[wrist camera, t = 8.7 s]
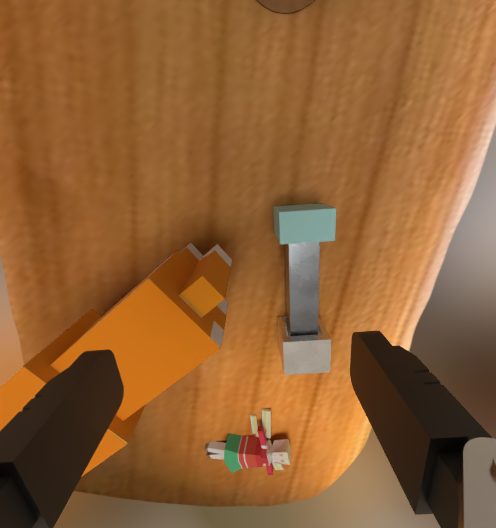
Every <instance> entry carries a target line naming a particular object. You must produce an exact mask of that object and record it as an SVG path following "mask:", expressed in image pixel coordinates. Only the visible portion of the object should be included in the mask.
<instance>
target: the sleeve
mask: <svg viewBox="0 0 496 528" xmlns="http://www.w3.org/2000/svg"><path fill="white" fill-rule="evenodd" d="M277 319H278V345H279V351H280V356H281V361H282V366H283V372H284V375H291V374H308V373H326V372H330V359H331V338H330V336H329V334H328V332H327V330H326V329H325V327H324V325H323V323H322V321H321V319H320V317H319V315H318V335H303V336H288V333H287V317H286V316H278V317H277Z"/></svg>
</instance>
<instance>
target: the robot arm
mask: <svg viewBox="0 0 496 528" xmlns="http://www.w3.org/2000/svg"><path fill="white" fill-rule="evenodd" d="M258 1H259V2H260V3H261V4H262V5H263V6H265V7H266V8H268V9H270V10H272V11H275V12H279V13H292V12H295V11H299V10H301V9H303V8H304V7H306V6H308V5H309V4H310V3H311V2H313V1H314V0H258ZM350 376H351V382H352V385H353V388H354V391H355V393H356V395H357V397H358V399H359V401H360V403H361V405H362V407H363V409H364V411H365V413H366V416H367V418H368V420H369V422H370V424H371V426H372V428H373V430H374V432H375V434H376V436H377V438H378V440H379V442H380V444H381V446H382V448H383V450H384V452H385V454H386V456H387V458H388V460H389V462H390V464H391V466H392V468H393V470H394V472H395V474H396V476H397V478H398V480H399V482H400V485H401V487H402V489H403V490H404V493H405V495H406V497H407V499H408V501H409V503H410V505H411V507H412V509H413V511H414V513H415V514H434V516H435V518H436V520H437V521H438V523H439V525H440V527H441V528H496V439H493V438H492V437H491V436H490V435H489V434H488V433H487V432H486V431H485V430H484V429H483V428H482V426H481V425H480V424H479V423H478V422H477V421H476V420H475V419H474V418H473V417H472V416H471V415H470V414H469V413H468V411H467V410H466V409H465V408H464V407H463V406H462V405H461V404H460V403H459V402H458V401H457V400H456V398H455V397H453V395H452V394H451V393H450V392H449V391H448V390H447V389H446V388H445V387H444V386H443V385H441V384H440V381H439V380H438V379H437V378H436V377H435V376H434V375H433V374H432V373H430V372H429V369H428V368H427V367H426V366H425V365H424V364H423V363H422V362H421V361H420V360H419V359H418V358H417V357H416V356H415V355H413V354H412V353H410V352H409V351H407V350H405V349H404V348H402V347H401V346H392V345H391V344H390V343H389V341H388V340H387V339H386V338H385V337H384V335H383V334H382V333H381V332H380V331H367V332H354V333H353V335H352V344H351V363H350ZM123 396H124V386H123V382H122V379H121V376H120V372H119V369H118V366H117V363H116V359H115V356H114V353H113V352H112V351H111V350H109V349H107V350H94V351H85V352H83V353H82V354H81V355H80V356H79V357H78V358H77V359H76V360H75V361H74V362H73V363H72V364H71V365H70V367H69V368H67V369H65V370H64V371H62V372H61V373H59V374H58V375H57V376H55V377H54V378H52V379H51V380H49V381H48V382H47V383H46V384H45V385H44V386H43V387H42V389H41V390H40V391H39V392H38V393H37V394H36V395H35V398H32V399H31V400H30V401H29V402H28V403H27V404H26V405H25V406H24V407H23V410H22V411H20V412H18V413H17V414H16V415H15V416H14V417H13V418H12V419H11V421H10V422H9V423H8V424H7V425H6V426H5V427H4V428H3V429H2V430H1V431H0V528H53V527H54V525H55V523H56V521H57V520H58V518H59V516H60V514H61V513H62V511H63V509H64V507H65V505H66V504H67V502H68V500H69V498H70V496H71V494H72V492H73V491H74V489H75V487H76V485H77V484H78V482H79V480H80V478H81V476H82V475H83V473H84V471H85V469H86V467H87V466H88V464H89V462H90V460H91V458H92V457H93V455H94V453H95V451H96V449H97V448H98V446H99V444H100V442H101V440H102V438H103V437H104V435H105V433H106V431H107V429H108V428H109V426H110V424H111V422H112V420H113V419H114V417H115V415H116V413H117V411H118V410H119V408H120V406H121V403H122V400H123Z"/></svg>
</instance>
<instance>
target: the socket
mask: <svg viewBox="0 0 496 528" xmlns="http://www.w3.org/2000/svg"><path fill="white" fill-rule="evenodd" d="M273 211H274V233H275V235H276V237H277V239H278V241H279V243H280V244H294V243H309V242H324V241H335V224H336V208H334V207H330V206H327V205H324V204H321V203H314V204H300V205H286V206H273Z"/></svg>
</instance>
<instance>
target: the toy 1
mask: <svg viewBox="0 0 496 528" xmlns="http://www.w3.org/2000/svg"><path fill="white" fill-rule="evenodd" d="M231 264H232V259H231V258H230V257H229V256H228V255H227V254H226V253H225V252H224V251H223V250H222V249H221V247H220V246H219V245H218V244H217V245H216V246H214V247H213V248H212V249H211V250H210V251H209V252H207V253H206V254H205V255H204V256H203V255H202V254H201V253H200V252H199V251H198V250H197V248H196V247H195V246H194V245H193V244H192V243H190V244H188V245H187V246H186V247H185V248H184V249H183V250H182V251H181V252H178V251H177V250H176V251H175V252H174V253H173V254H172V255H171V256H170V257H169V258H167V259H166V260H165V261H164V262H163V263H162V264H161V265H160V266H158V267H157V268H156V269H155V270H154V271H153V272H152V273H151V274H149V275H148V276H147V277H146V278H145V279H144V280H143V281H142V282H140V283H139V284H138V285H137V286H136V287H135V288H134V289H133V290H131V291H130V292H129V293H128V294H127V295H126V296H125V297H123V298H122V299H121V300H120V301H119V302H118V303H117V304H116V305H114V306H113V307H112V308H111V309H110V310H109V311H108V312H107V313H105V314H104V315H103V316H102V317H101V316H100V315H99V314H98V313H97V312H95V311H94V310H93V309H92V310H90V311H89V312H88V313H87V314H85V315H84V316H83V317H82V318H81V319H79V320H78V321H77V322H76V323H75V324H73V325H72V326H71V327H70V328H69V329H67V330H66V331H65V332H64V333H63V334H61V335H60V336H59V337H58V338H57V339H55V340H54V341H53V342H52V343H51V344H49V345H48V346H47V347H46V348H45V349H43V350H42V351H41V352H40V353H39V354H37V355H36V356H35V357H34V358H33V359H31V360H30V361H29V362H28V363H27V364H25V365H24V366H23V367H22V368H21V369H20V370H19V371H17V373H15V374H14V375H13V376H12V377H11V378H10V379H9V380H8V381H7V382H5V383H4V384H3V385H2V386H1V387H0V431H1V430H2V429H3V428H4V427H5V426H6V425H7V424H8V423H9V422H10V421H11V419H12V418H13V417H14V416H15V415H16V414H17V413H18V412H20V411H22V410H23V407H24V406H25V405H26V404H27V403H28V402H29V401H30V400H31V399H32V398H35V395H36V394H37V393H38V392H39V391H40V390H41V389H42V387H43V386H44V385H45V384H46V383H47V382H48V381H49V380H51V379H52V378H54V377H55V376H57V375H58V374H59V373H61V372H62V371H64V370H65V369H67V368H69V367H70V365H71V364H72V363H73V362H74V361H75V360H76V359H77V358H78V357H79V356H80V355H81V354H82V353H83V352H85V351H94V350H107V349H109V350H111V351H112V352H113V353H114V356H115V359H116V363H117V366H118V369H119V372H120V376H121V379H122V382H123V386H124V396H123V400H122V403H121V406H120V408H119V410H118V411H117V413H116V415H115V417H114V419H113V420H112V422H111V424H110V426H109V428H108V429H107V431H106V433H105V435H104V437H103V438H102V440H101V442H100V444H99V446H98V448H97V449H96V451H95V453H94V455H93V457H92V458H91V460H90V462H89V464H88V466H87V467H86V469H85V471H84V473H83V475H84V474H86V473H87V472H89V471H90V470H91V469H93V468H94V467H96V466H97V465H98V464H100V463H101V462H103V461H104V460H105V459H107V458H108V457H110V456H111V455H112V454H114V453H115V452H117V451H118V450H119V449H121V448H122V447H124V446H125V445H126V444H128V442H129V440H130V438H131V435H132V433H133V431H134V429H135V427H136V424H137V422H138V420H139V418H140V416H141V413H142V411H143V409H144V407H145V405H146V404H147V403H148V402H149V401H151V400H152V399H153V398H155V397H156V396H157V395H159V394H160V393H161V392H163V391H164V390H165V389H167V388H168V387H169V386H171V385H172V384H174V383H175V382H176V381H178V380H179V379H180V378H182V377H183V376H184V375H186V374H187V373H188V372H190V371H191V370H192V369H194V368H195V367H196V366H198V365H199V364H200V363H202V362H203V361H204V360H206V359H207V358H208V357H210V356H211V355H212V354H214V353H215V352H217V351H218V350H219V349H221V346H222V339H223V333H224V327H225V320H226V314H227V307H228V303H227V302H226V301H225V300H224V299H225V296H226V291H227V285H228V280H229V275H230V269H231ZM83 475H82V476H83ZM82 476H81V477H82Z"/></svg>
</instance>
